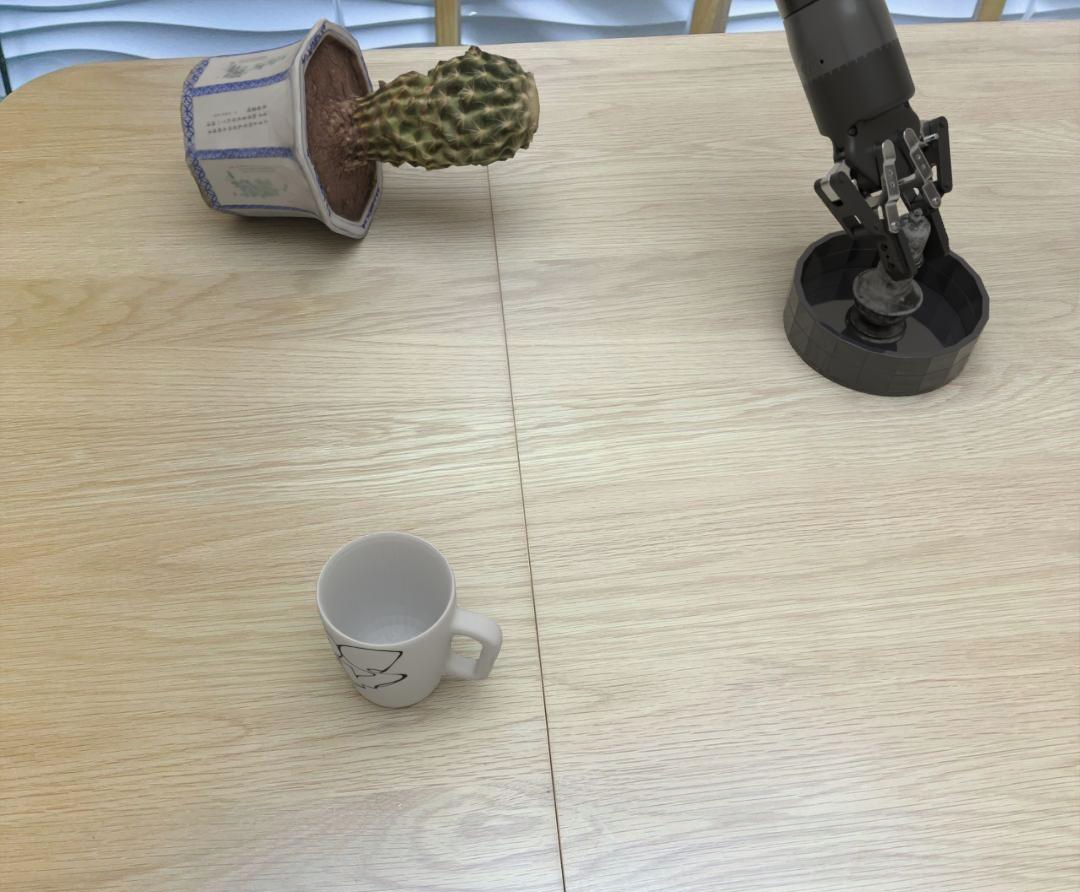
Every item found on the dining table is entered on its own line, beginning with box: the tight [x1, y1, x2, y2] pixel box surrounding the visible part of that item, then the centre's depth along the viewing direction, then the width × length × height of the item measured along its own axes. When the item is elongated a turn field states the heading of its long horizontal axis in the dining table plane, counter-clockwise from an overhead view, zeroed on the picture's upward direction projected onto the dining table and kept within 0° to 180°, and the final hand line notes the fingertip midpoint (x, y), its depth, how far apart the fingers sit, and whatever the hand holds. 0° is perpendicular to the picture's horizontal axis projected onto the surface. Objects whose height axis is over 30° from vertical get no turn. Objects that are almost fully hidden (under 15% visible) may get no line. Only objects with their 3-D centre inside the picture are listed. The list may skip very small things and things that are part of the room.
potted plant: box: [179, 17, 541, 240], centre depth 95 cm, size 18×18×30 cm
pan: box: [782, 229, 991, 397], centre depth 93 cm, size 16×16×4 cm
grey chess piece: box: [845, 208, 931, 344], centre depth 90 cm, size 6×6×12 cm
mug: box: [315, 531, 503, 708], centre depth 70 cm, size 11×8×10 cm
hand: (921, 266), depth 88 cm, fingers closed on grey chess piece, 3 cm apart
